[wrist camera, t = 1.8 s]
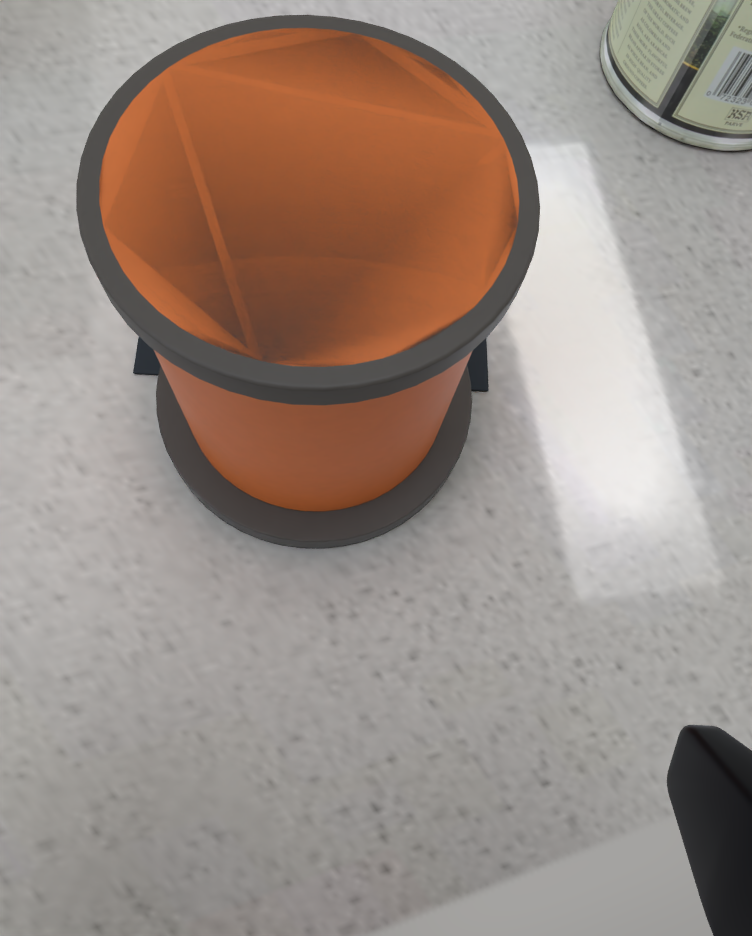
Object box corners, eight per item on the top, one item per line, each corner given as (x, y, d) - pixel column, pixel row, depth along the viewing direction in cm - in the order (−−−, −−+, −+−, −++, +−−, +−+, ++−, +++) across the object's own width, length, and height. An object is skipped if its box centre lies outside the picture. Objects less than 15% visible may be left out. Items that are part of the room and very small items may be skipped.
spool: (387, 605, 23) (443, 518, 12) (100, 460, 24) (-74, 265, 13) (511, 346, 26) (635, 110, 16) (258, 229, 27) (219, -66, 17)
